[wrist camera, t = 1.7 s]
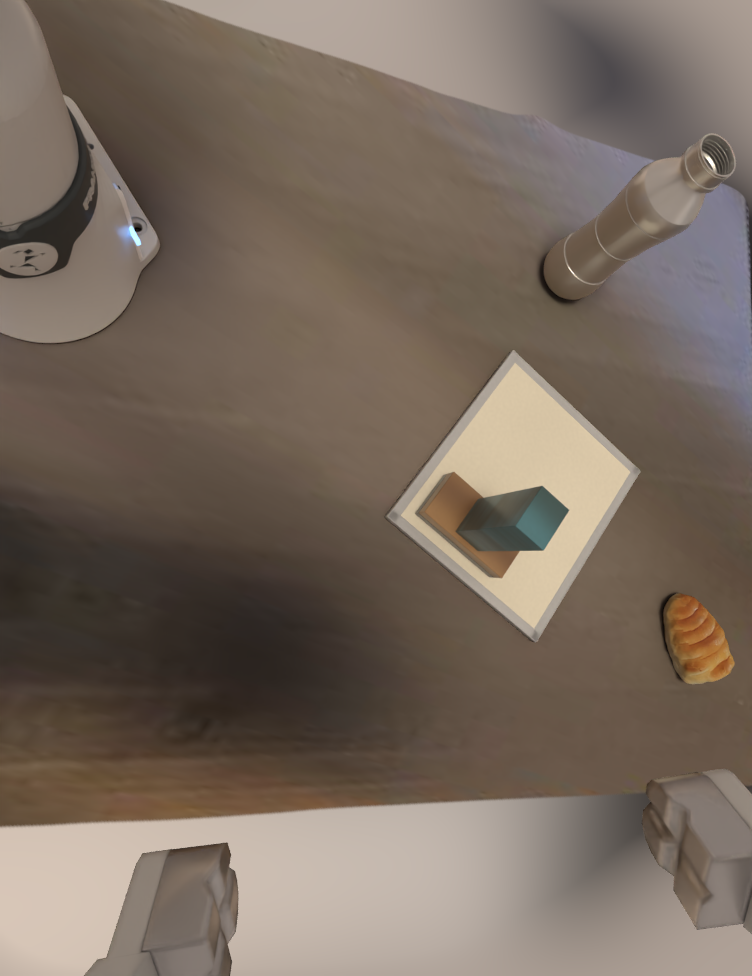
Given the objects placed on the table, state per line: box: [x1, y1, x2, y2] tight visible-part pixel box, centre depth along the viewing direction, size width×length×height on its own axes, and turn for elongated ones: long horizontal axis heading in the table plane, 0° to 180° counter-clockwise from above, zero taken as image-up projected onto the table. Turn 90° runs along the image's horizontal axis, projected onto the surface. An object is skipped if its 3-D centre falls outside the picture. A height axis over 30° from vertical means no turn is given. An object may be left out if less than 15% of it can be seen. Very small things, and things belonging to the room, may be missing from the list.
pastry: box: [663, 593, 734, 684], centre depth 58 cm, size 9×7×4 cm
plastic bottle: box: [544, 134, 736, 300], centre depth 51 cm, size 6×7×20 cm
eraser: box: [415, 472, 569, 578], centre depth 47 cm, size 5×10×13 cm, turn 52°
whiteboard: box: [385, 350, 640, 642], centre depth 56 cm, size 23×20×1 cm
